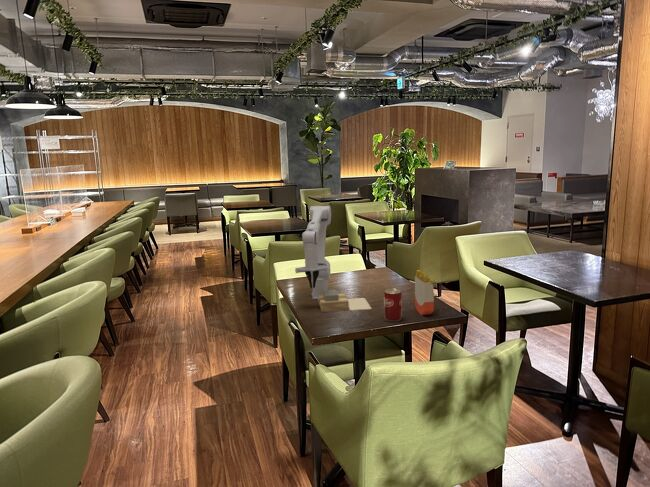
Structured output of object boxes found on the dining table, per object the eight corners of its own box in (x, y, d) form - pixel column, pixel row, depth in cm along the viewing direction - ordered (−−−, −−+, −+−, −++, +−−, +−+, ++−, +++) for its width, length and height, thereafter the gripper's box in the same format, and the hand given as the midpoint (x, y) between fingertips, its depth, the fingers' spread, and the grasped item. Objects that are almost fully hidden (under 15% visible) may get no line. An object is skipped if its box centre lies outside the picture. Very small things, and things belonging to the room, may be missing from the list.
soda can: (388, 323, 197) (388, 294, 195) (381, 317, 204) (381, 289, 201) (404, 320, 199) (404, 292, 197) (397, 315, 206) (397, 287, 203)
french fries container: (424, 308, 213) (424, 268, 210) (434, 316, 203) (434, 274, 200) (414, 309, 213) (414, 269, 209) (424, 317, 202) (424, 275, 199)
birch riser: (318, 302, 227) (318, 294, 226) (343, 300, 228) (343, 292, 227) (321, 312, 213) (321, 303, 212) (348, 310, 214) (348, 301, 213)
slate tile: (322, 295, 224) (322, 290, 223) (335, 294, 224) (335, 289, 224) (325, 301, 215) (325, 295, 214) (338, 300, 215) (338, 294, 215)
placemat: (344, 300, 229) (344, 299, 229) (364, 298, 230) (364, 297, 230) (350, 310, 213) (350, 310, 213) (371, 309, 214) (371, 308, 214)
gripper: (295, 260, 210) (296, 291, 213) (328, 258, 212) (329, 288, 214) (294, 257, 217) (295, 286, 220) (326, 255, 219) (327, 284, 221)
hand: (312, 287), depth 218 cm, fingers closed
